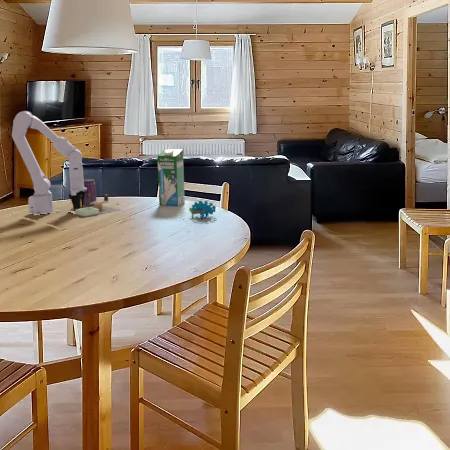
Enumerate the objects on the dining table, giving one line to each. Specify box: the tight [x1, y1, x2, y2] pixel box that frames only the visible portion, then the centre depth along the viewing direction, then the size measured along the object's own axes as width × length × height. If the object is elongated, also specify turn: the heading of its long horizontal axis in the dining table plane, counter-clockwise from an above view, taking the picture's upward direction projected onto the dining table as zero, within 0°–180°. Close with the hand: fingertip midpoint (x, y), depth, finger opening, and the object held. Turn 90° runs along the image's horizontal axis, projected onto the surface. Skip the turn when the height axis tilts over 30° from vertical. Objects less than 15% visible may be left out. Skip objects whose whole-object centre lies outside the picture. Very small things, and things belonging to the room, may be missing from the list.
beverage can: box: [82, 178, 97, 207], centre depth 280 cm, size 7×7×12 cm
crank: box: [87, 193, 109, 206], centre depth 267 cm, size 10×3×4 cm, turn 135°
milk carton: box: [157, 148, 186, 207], centre depth 279 cm, size 9×9×25 cm
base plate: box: [85, 200, 123, 218], centre depth 265 cm, size 19×17×4 cm
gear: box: [188, 200, 216, 220], centre depth 251 cm, size 11×6×10 cm
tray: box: [75, 207, 99, 218], centre depth 257 cm, size 7×7×2 cm
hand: (78, 209), depth 265 cm, fingers open, 5 cm apart
